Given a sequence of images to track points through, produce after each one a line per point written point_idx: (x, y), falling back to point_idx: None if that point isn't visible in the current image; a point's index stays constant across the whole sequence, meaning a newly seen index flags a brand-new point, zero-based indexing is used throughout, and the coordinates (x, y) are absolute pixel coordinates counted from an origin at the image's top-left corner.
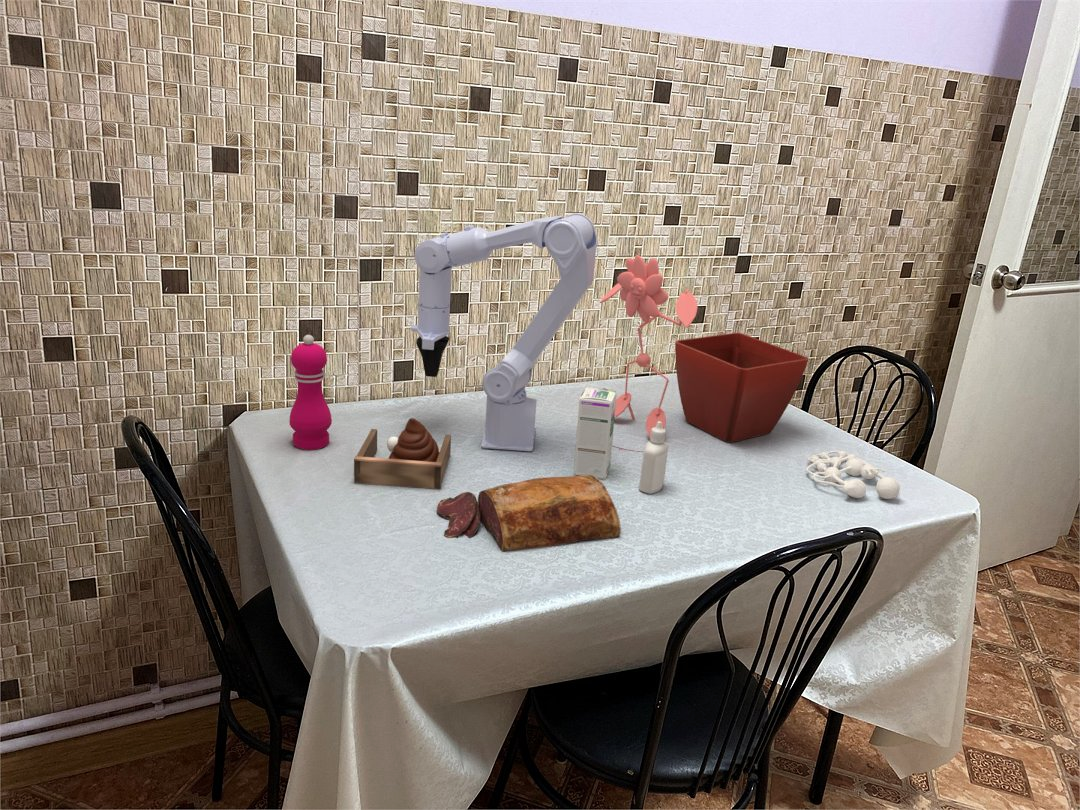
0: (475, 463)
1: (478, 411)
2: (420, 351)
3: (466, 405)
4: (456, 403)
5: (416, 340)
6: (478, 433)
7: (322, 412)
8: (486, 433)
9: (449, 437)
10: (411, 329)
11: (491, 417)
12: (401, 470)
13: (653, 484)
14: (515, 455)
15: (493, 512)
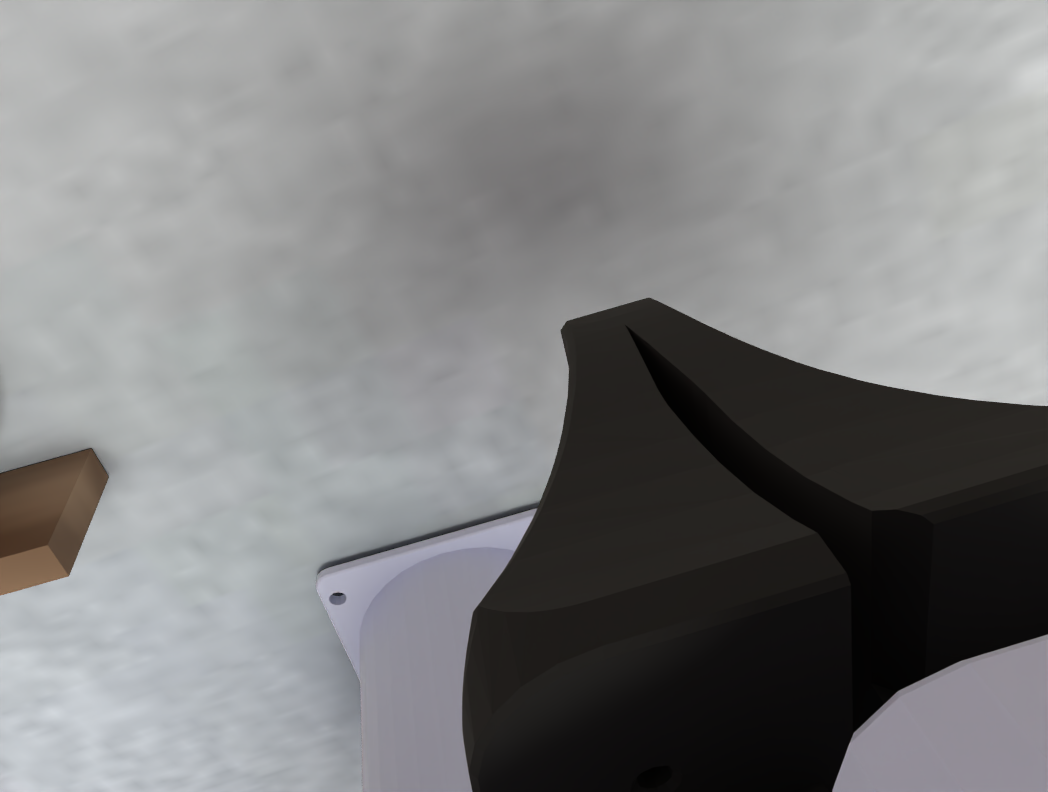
0: (102, 617)
1: (886, 346)
2: (519, 546)
3: (982, 238)
4: (1013, 160)
5: (601, 650)
6: (530, 476)
7: None
8: (397, 611)
9: (15, 585)
10: (920, 777)
11: (373, 744)
12: None
13: None
14: (326, 712)
15: None
